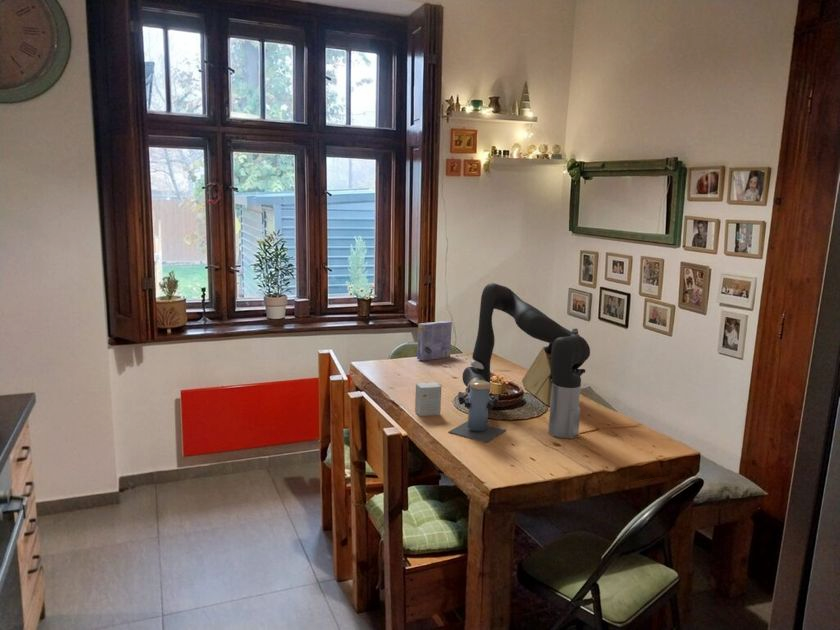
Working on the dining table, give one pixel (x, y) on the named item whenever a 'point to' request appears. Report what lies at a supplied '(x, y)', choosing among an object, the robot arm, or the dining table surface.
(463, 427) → the mat
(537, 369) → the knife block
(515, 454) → the dining table surface
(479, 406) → the jar
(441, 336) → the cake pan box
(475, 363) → the die
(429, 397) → the small box
